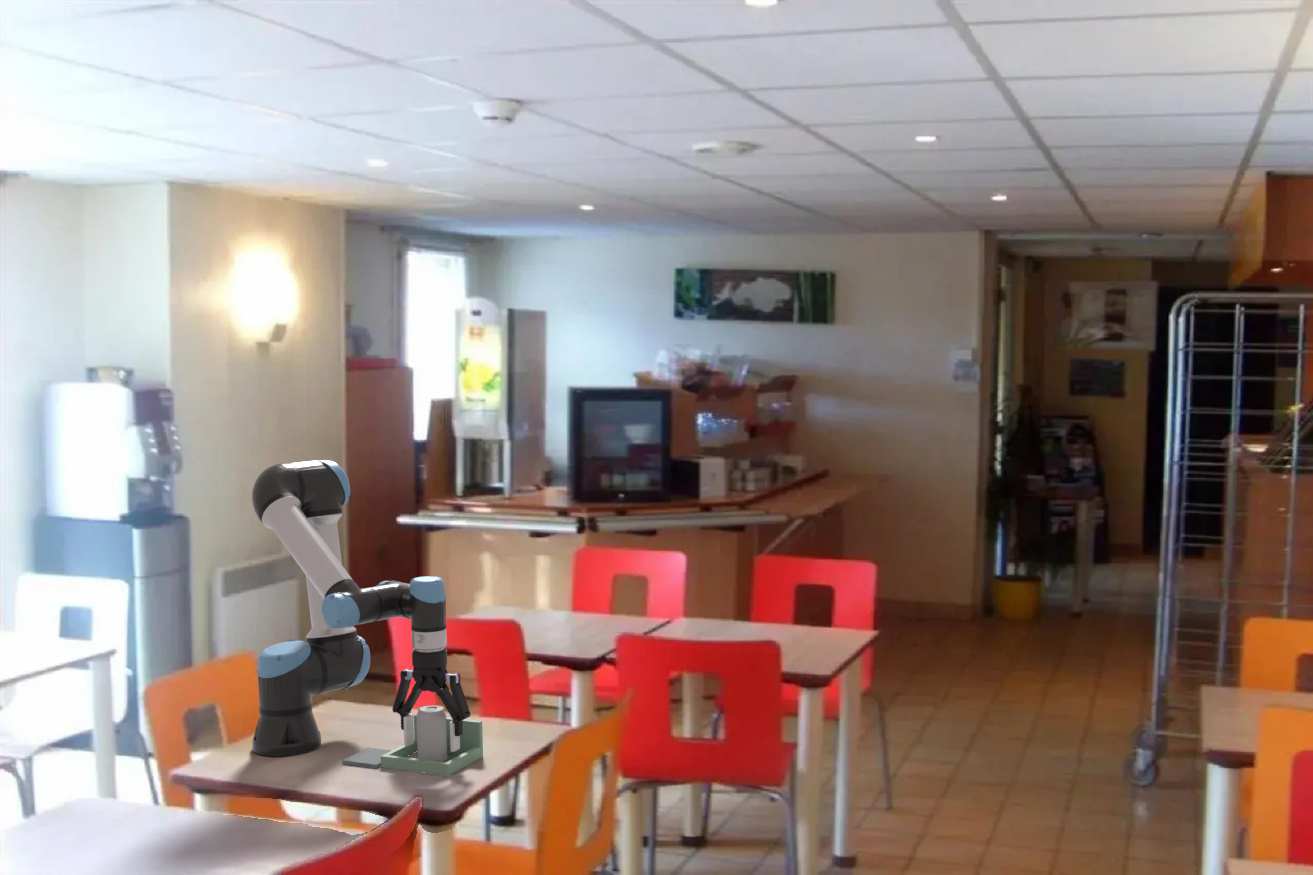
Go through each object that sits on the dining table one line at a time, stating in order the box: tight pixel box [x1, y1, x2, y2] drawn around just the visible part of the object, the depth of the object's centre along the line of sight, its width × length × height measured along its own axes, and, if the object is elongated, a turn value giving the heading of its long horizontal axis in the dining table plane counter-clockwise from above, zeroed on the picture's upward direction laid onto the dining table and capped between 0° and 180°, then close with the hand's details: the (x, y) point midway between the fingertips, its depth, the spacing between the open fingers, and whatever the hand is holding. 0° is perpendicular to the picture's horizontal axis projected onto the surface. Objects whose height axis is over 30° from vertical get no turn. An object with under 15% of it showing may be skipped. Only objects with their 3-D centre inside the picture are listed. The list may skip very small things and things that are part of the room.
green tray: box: [380, 713, 484, 777], centre depth 295 cm, size 17×14×8 cm
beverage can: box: [415, 704, 448, 762], centre depth 295 cm, size 6×6×12 cm
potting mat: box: [341, 747, 393, 769], centre depth 298 cm, size 9×10×1 cm
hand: (432, 747), depth 295 cm, fingers open, 11 cm apart
